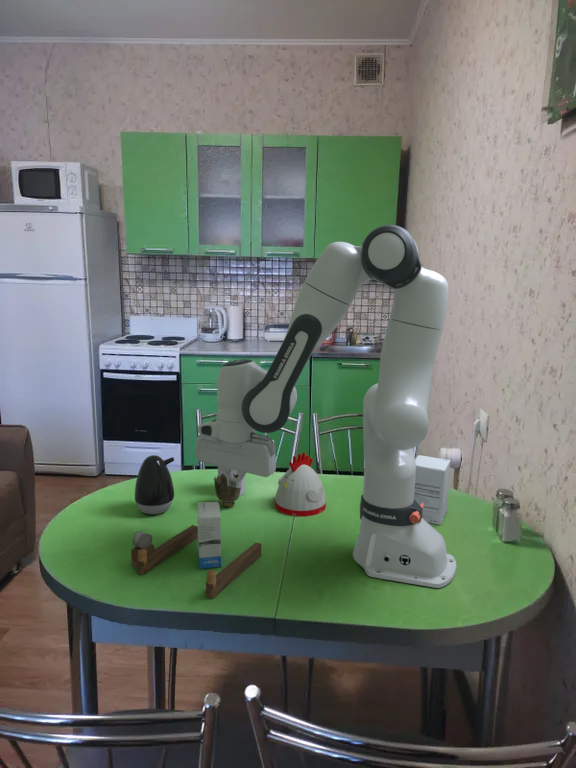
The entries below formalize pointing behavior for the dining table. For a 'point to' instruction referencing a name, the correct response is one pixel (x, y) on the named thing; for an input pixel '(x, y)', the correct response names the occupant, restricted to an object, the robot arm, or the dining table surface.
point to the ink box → (209, 535)
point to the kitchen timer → (300, 489)
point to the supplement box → (432, 487)
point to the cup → (226, 491)
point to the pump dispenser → (154, 485)
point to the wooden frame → (150, 557)
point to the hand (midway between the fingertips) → (234, 486)
